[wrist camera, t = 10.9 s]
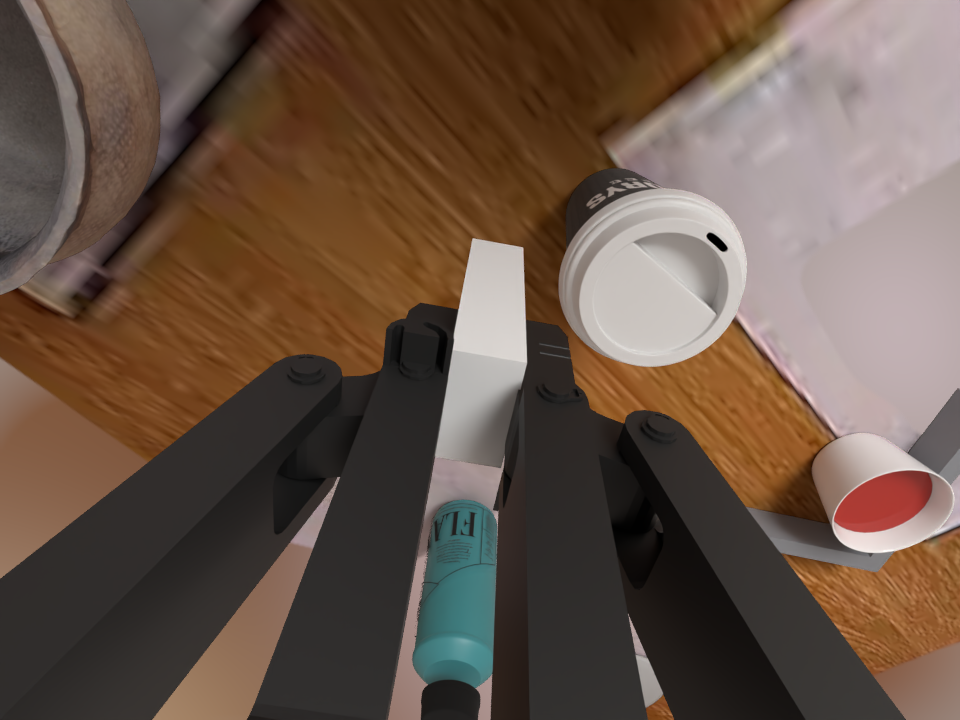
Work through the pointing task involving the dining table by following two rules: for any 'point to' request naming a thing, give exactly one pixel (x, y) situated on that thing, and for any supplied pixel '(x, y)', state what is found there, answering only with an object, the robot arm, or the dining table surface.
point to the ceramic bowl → (70, 128)
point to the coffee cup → (648, 269)
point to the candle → (879, 494)
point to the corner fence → (942, 447)
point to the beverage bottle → (457, 611)
